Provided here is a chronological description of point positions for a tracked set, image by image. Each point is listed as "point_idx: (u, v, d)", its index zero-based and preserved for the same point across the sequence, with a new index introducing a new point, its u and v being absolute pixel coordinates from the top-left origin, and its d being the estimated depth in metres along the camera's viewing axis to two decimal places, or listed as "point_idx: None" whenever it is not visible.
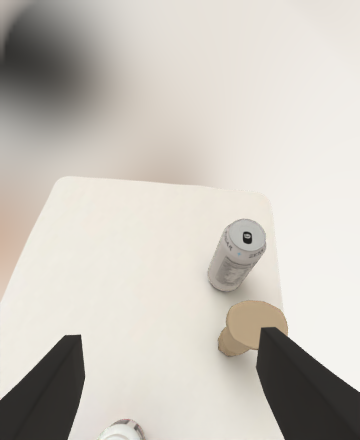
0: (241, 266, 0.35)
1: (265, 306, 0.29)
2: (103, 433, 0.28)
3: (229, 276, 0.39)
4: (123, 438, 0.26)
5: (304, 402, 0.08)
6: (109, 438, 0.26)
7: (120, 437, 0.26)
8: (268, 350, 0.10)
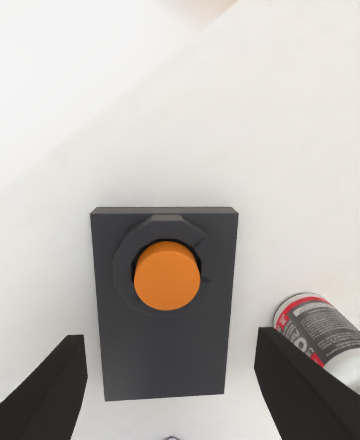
0: None
1: None
2: None
3: None
4: None
5: (301, 402, 0.08)
6: None
7: None
8: (266, 350, 0.10)
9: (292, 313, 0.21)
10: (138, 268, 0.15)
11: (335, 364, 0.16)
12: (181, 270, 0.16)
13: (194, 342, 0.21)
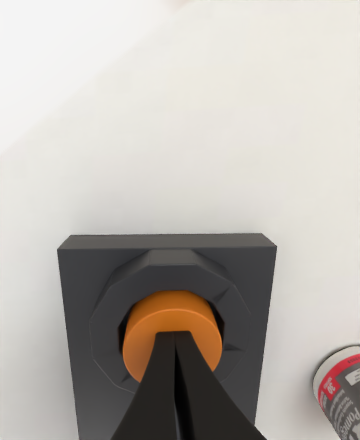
0: None
1: None
2: None
3: None
4: None
5: (185, 410, 0.07)
6: None
7: None
8: (174, 355, 0.10)
9: (344, 378, 0.15)
10: (129, 334, 0.10)
11: None
12: (194, 336, 0.10)
13: None
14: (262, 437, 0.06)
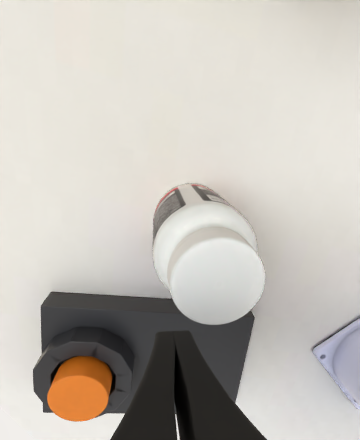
0: None
1: None
2: (157, 247, 0.13)
3: None
4: (210, 238, 0.10)
5: (185, 410, 0.07)
6: (181, 259, 0.10)
7: (203, 241, 0.10)
8: (174, 355, 0.10)
9: None
10: (63, 418, 0.18)
11: None
12: (66, 389, 0.17)
13: None
14: (262, 437, 0.06)
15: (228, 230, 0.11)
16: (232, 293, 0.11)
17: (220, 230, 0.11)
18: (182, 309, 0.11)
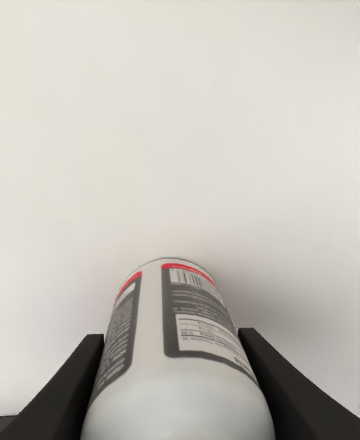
0: None
1: None
2: None
3: None
4: None
5: (274, 404, 0.08)
6: None
7: None
8: None
9: None
10: None
11: None
12: None
13: None
14: None
15: None
16: None
17: None
18: None
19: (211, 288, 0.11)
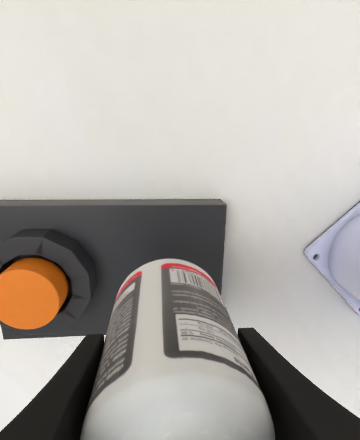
0: None
1: None
2: None
3: None
4: None
5: (273, 404, 0.08)
6: None
7: None
8: (244, 351, 0.10)
9: None
10: (12, 326, 0.16)
11: None
12: (7, 288, 0.15)
13: (146, 243, 0.18)
14: None
15: None
16: None
17: None
18: None
19: (211, 288, 0.11)
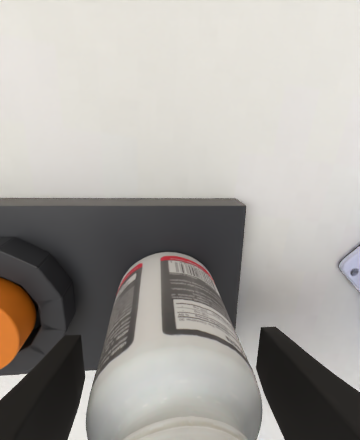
0: None
1: None
2: (88, 427, 0.07)
3: None
4: None
5: (304, 402, 0.08)
6: None
7: None
8: (268, 350, 0.10)
9: None
10: None
11: None
12: None
13: (141, 255, 0.14)
14: None
15: (198, 434, 0.06)
16: None
17: None
18: None
19: (207, 278, 0.12)
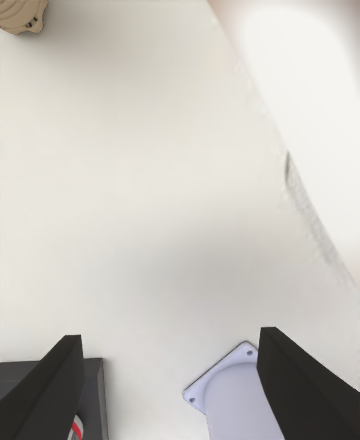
0: None
1: None
2: None
3: None
4: None
5: (304, 402, 0.08)
6: None
7: None
8: (268, 350, 0.10)
9: None
10: None
11: None
12: None
13: None
14: None
15: None
16: None
17: None
18: None
19: None
